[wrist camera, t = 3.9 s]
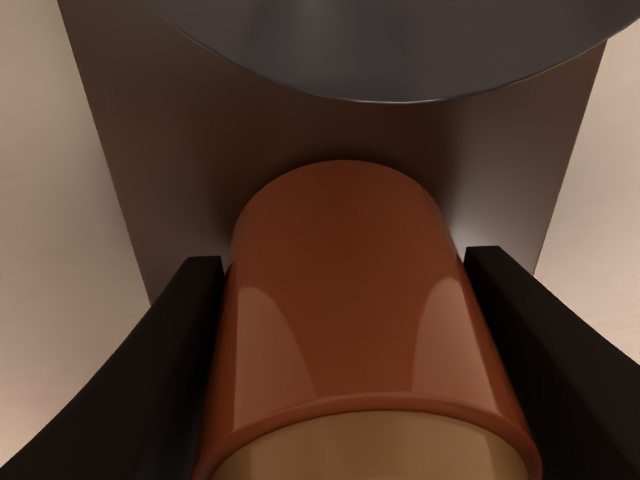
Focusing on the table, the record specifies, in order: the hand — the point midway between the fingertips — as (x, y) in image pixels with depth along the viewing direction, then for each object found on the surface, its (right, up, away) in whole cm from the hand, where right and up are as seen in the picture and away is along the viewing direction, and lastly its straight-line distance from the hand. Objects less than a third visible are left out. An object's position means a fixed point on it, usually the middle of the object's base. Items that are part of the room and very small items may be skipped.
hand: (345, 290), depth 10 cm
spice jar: (0, +1, +1) cm, 1 cm away
